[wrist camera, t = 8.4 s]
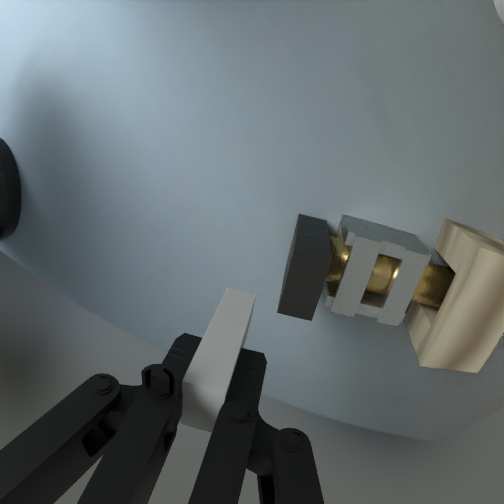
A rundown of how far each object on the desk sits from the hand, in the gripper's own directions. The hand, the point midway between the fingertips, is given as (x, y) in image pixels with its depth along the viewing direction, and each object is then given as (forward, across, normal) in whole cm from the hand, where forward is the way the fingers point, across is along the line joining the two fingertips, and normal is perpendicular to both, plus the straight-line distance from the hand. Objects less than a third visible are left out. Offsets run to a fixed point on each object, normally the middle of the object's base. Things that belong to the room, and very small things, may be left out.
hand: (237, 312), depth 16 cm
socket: (+13, +19, 0) cm, 23 cm away
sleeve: (+13, +9, 0) cm, 16 cm away
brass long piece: (+13, +11, 0) cm, 17 cm away
